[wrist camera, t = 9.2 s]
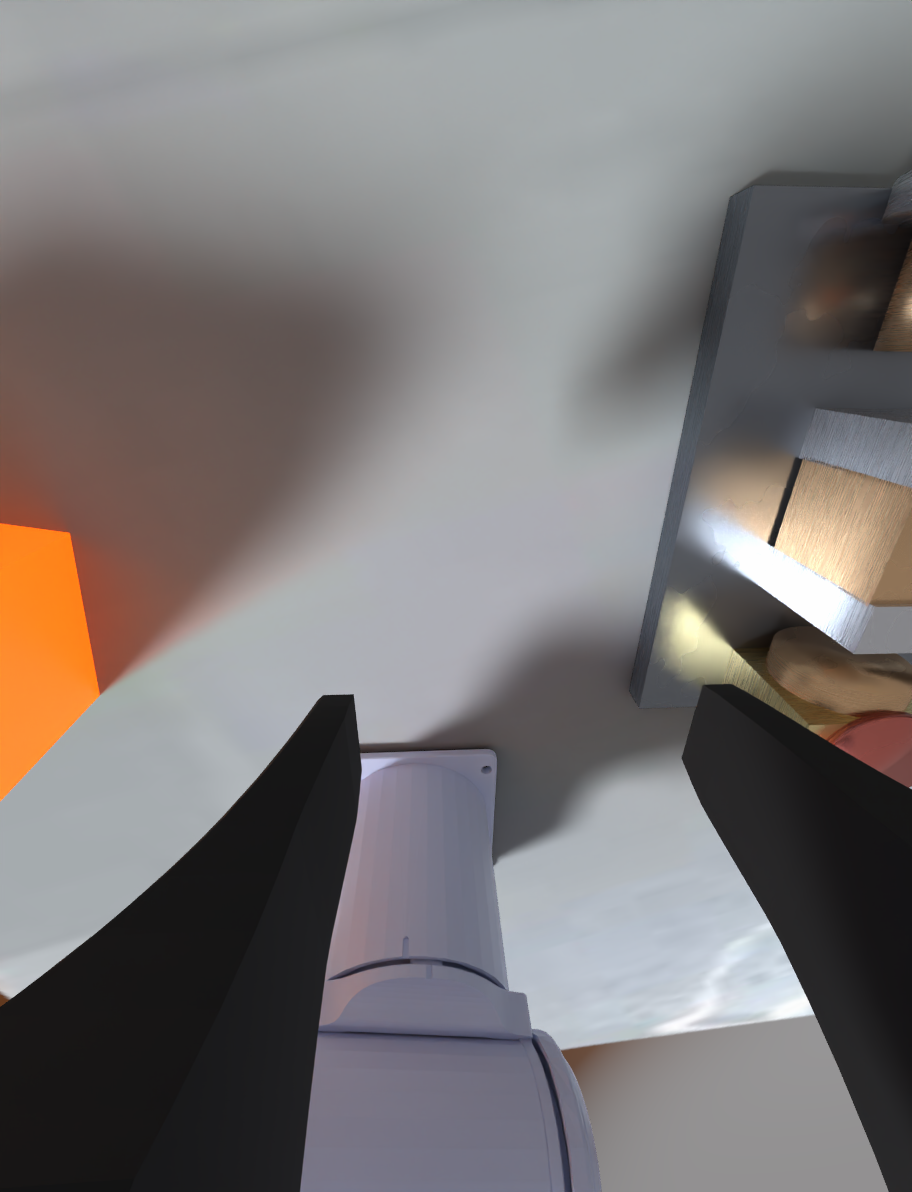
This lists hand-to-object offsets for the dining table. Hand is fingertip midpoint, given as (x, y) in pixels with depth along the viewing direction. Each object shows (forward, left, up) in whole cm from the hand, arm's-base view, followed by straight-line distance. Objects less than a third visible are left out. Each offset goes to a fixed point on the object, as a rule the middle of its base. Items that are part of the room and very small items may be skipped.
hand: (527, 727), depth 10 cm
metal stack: (+2, -13, -10) cm, 16 cm away
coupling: (+2, -13, -9) cm, 16 cm away
